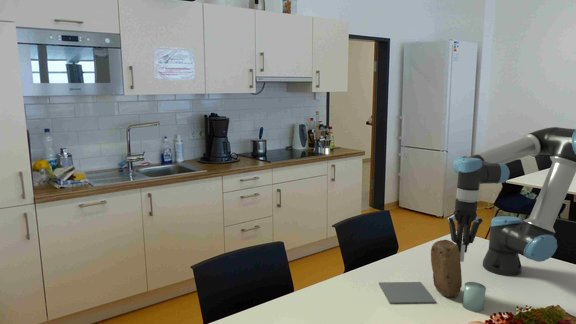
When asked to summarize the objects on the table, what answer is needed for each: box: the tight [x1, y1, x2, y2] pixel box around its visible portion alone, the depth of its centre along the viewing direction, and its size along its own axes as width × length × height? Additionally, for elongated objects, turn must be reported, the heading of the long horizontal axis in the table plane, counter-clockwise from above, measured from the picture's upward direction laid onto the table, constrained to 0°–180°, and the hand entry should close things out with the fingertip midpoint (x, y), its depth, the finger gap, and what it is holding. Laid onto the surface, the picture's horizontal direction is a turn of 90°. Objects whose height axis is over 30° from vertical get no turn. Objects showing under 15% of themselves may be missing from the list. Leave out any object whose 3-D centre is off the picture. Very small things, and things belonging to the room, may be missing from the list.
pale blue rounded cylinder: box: [462, 281, 487, 313], centre depth 154 cm, size 7×7×8 cm
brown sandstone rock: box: [430, 239, 463, 298], centre depth 163 cm, size 11×8×20 cm
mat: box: [378, 281, 437, 305], centre depth 164 cm, size 17×16×1 cm
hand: (460, 260), depth 163 cm, fingers closed
